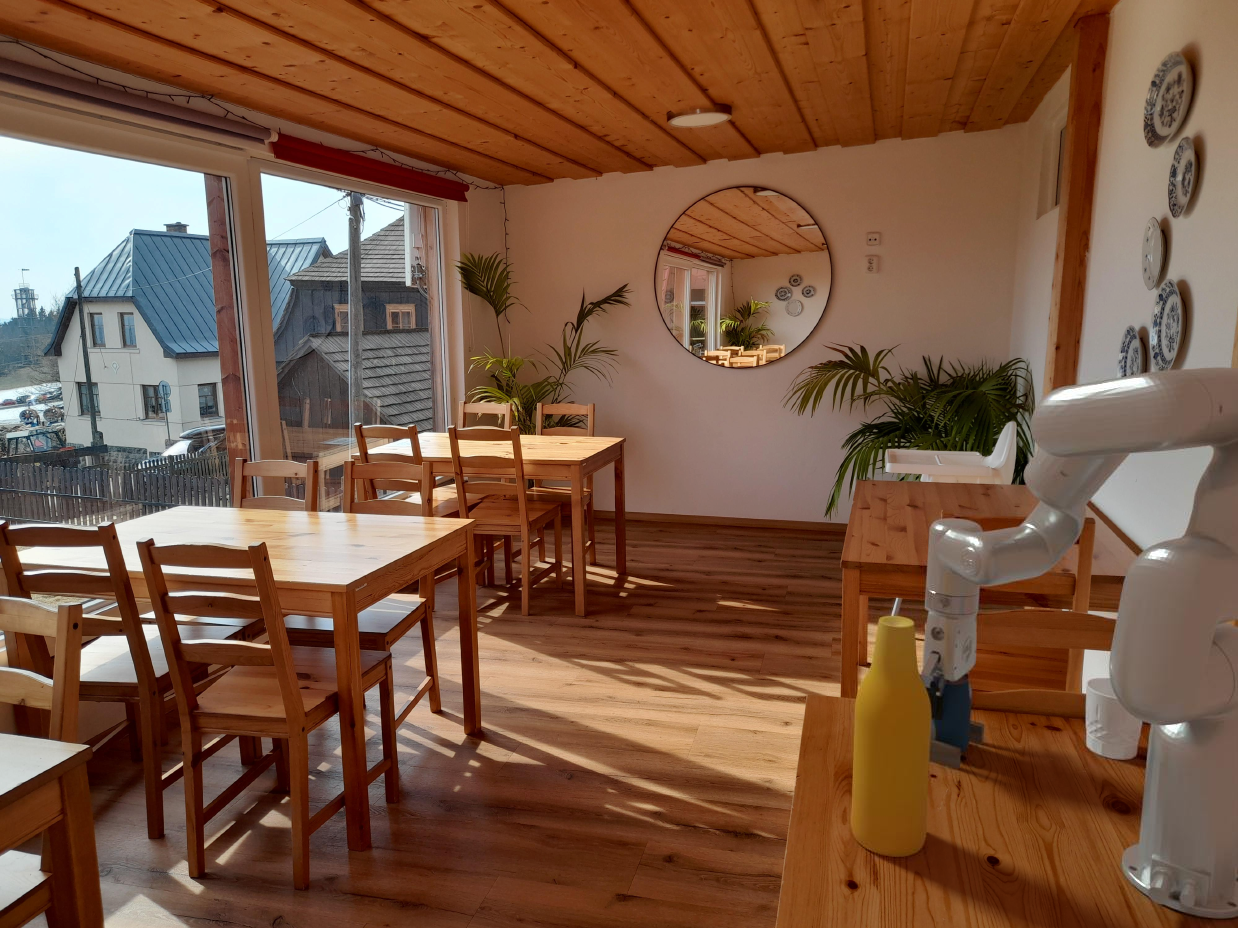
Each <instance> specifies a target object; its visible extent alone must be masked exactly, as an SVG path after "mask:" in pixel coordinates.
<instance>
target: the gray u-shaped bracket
mask: <svg viewBox="0 0 1238 928" xmlns="http://www.w3.org/2000/svg"><path fill="white" fill-rule="evenodd" d="M984 739H985V724H984V723H982V722H981V723H980V722H977V721H973V720H971V719H970V736H969V742H971V743H975V744H977V745H980V746H981V745H982V744H983V743H984ZM960 753H961V748H958V747H955V746H952V745H949V744H946V743H943V742H939V741H936V740H933V739H930V753H929V762H930V761H931V762H933V763H936V764H939V765H942V766H945V767H948V768H951V769H953V770H958V769H960V767H961V755H960Z"/></svg>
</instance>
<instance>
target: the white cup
mask: <svg viewBox="0 0 1238 928" xmlns="http://www.w3.org/2000/svg"><path fill="white" fill-rule="evenodd" d="M1085 685H1086V688H1085V689H1086V691H1085V692H1086V693H1085V729H1086V730H1085V731H1086V735H1085V736H1086V737H1085V743H1086V747H1087V748H1088V749H1089V750H1090V751H1091V752H1093V753H1094V754H1096V755H1099V756H1102V757H1105V758H1108V759H1113V760H1119V761H1120V760H1122V761H1123V760H1125V761H1126V760H1131V759H1134V758H1136V756H1137V753H1138V745H1139V739H1140V736H1141V733H1142V732H1141V731H1142V727H1143V721H1141V720H1139V719H1137V718H1136V717H1134V716H1133V715H1131V714H1130V713H1129V712H1128V711H1127V710H1126V709H1125V708H1124V707H1123V706H1122V705H1121V704H1120V702H1119V701H1118V699H1117V697H1116V695H1115V693H1114V691H1113V688H1112V685H1111V681H1110V677H1096V678H1091V679H1089V680H1088V681H1086V684H1085Z"/></svg>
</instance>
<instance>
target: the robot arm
mask: <svg viewBox="0 0 1238 928" xmlns="http://www.w3.org/2000/svg"><path fill="white" fill-rule="evenodd" d="M1030 429H1031V430H1030V431H1031V434H1032V438H1033V441H1034V442H1035V444H1036V445H1037V446H1038V447H1039V449H1038V451H1037V452H1036V453H1035V455H1034V456H1033V457H1032V459H1030V461H1029V462H1028V463H1027V464H1026V466H1025V468H1024V471H1023V479H1024V483H1025V485H1026V487H1027V488H1028V490H1029V491H1030V492H1031V493H1032V494H1033V496H1035V497H1036V498H1037V499H1038V500H1039V502H1038V504H1037V505H1036V506H1035V507H1034V510H1032V512H1031V513H1030V514H1029V515H1028V516H1027V517H1026V519H1025V520H1024V521H1023V522H1022V523H1021V524H1020V525H1019V526H1014V527H1007V528H1002V529H995V530H988V531H987V530H986V531H984V530H983V529H982V527H981V525H980V524H979V523H978V522H975V521H973V520H969V519H965V518H956V517H955V518H954V517H950V518H949V517H948V518H940V519H936V520H934V521H933V522H932V523H931V524H930V527H929V533H928V534H929V535H928V549H927V567H926V580H925V581H926V583H925V585H926V586H925V598H924V609H925V610H926V611H928V614H927V619H926V626H925V633H924V639H923V640H924V641H923V653H922V669H921V673H920V677H921V679H922V681H923V683H924V686H925V688H926V690H927V693H928V696H929V699H930V704H931V718H933V719H937V720H942V719H943V717H944V702H945V695H943V694H942V693H943V690H944V687H945V684H946V681H947V679H948V680H949V681H950V682H955V681H956V680H958V679H959V678H961V677H962V676H963V675H964V674H965V673H966V674H967V675H968V680H969V681H970V679H969V678H970V674H969V673H970V671H971V670H972V669H973V668H974V666H975V664H976V661H977V635H978V633H977V631H978V630H977V627H978V626H977V615H978V613H979V603H980V600H979V599H980V588H981V587H993V586H999V585H1005V584H1008V583H1013V582H1017V581H1023V580H1028V579H1029V580H1030V579H1034V578H1037V577H1040V576H1041V575H1044V574H1045V573H1047V572H1049V571H1050V570H1051V569H1052V568H1053V567H1054V566H1055V565H1056V564H1058V562H1059V561H1061V559H1062V558H1063V557H1064V556H1065V555H1066V554H1067V553H1068V551H1069V550H1070V549H1071V548H1072V547H1073V546H1074V544H1076V542H1077V541H1078V540H1079V538H1080V535H1081V534H1082V532H1083V529H1084V525H1085V520H1086V516H1087V510H1086V507H1087V504H1088V503H1089V502H1090V500H1092V498H1093V497H1094V496H1095V494H1096V493H1097V492H1098V491H1099V490H1100V489H1101V487H1102V486H1103V485H1104V484H1105V483H1106V482H1107V481H1108V479H1110V477H1111V476H1112V475H1113V474H1114V473H1115V472H1116V470H1117V469H1118V468H1119V467H1120V466H1121V464H1123V463H1124V461H1125V460H1126V459H1127V458H1128V457H1129V456H1130V454H1139V453H1153V452H1155V453H1156V452H1166V451H1169V452H1170V451H1175V450H1177V451H1178V450H1184V449H1192V448H1193V449H1194V448H1201V447H1209V446H1210V447H1211V448H1212V449H1213V454H1212V457H1211V460H1210V462H1209V463H1208V465H1207V466H1206V468H1205V470H1204V472H1203V473H1202V475H1201V478H1200V479H1199V481H1198V484H1197V486H1196V489H1195V493H1194V498H1193V504H1192V510H1191V514H1190V517H1189V521H1188V524H1187V527H1186V529H1185V532H1184V534H1183V535H1182V536H1181V537H1178V538H1174V539H1169V540H1165V541H1161V542H1157V543H1156V544H1153V545H1151V546H1150V547H1147V548H1146V549H1145V550H1143V551H1142V552H1141V553H1139V554H1138V556H1137V557H1136V558H1135V559H1134V560H1133V562H1132V563H1131V565H1130V567H1129V568H1128V570H1127V573H1126V575H1125V578H1124V580H1123V584H1122V585H1123V586H1122V590H1121V594H1120V601H1119V605H1118V611H1117V614H1116V615H1117V616H1116V622H1115V627H1114V631H1113V636H1112V642H1111V648H1110V654H1109V663H1108V668H1109V669H1108V670H1109V671H1108V673H1109V675H1108V676H1109V678H1110V681H1111V685H1112V688H1113V691H1114V693H1115V695H1116V697H1117V699H1118V701H1119V702H1120V704H1121V705H1122V706H1123V707H1124V708H1125V709H1126V710H1127V711H1128V712H1129V713H1130V714H1131V715H1133V716H1134V717H1136V718H1137V719H1139V720H1141V721H1142V722H1143V723H1147V724H1150V730H1149V736H1148V746H1147V754H1146V764H1145V766H1146V767H1145V775H1144V776H1145V777H1144V787H1143V798H1142V809H1141V819H1140V830H1139V840H1138V843H1135V844H1133V845H1131V846H1129V847H1127V848H1126V849H1125V851H1124V852H1123V854H1122V856H1121V857H1122V859H1121V868H1122V871H1123V873H1124V876H1125V877H1126V878H1127V879H1128V881H1129V882H1130V883H1131V884H1132V885H1133V886H1134V887H1135V888H1137V889H1138V890H1139V891H1141V893H1142V894H1145V895H1146V896H1147V897H1149V899H1150V900H1151V901H1152V902H1153V903H1155V904H1158V905H1164V906H1166V907H1168V908H1171V909H1174V910H1176V911H1179V912H1182V913H1185V914H1188V915H1192V916H1195V917H1202V918H1207V919H1208V918H1209V919H1233V918H1236V917H1238V626H1236V625H1234V624H1232V623H1230V622H1233V621H1237V620H1238V368H1235V367H1199V368H1189V369H1188V368H1186V369H1168V370H1156V371H1149V372H1148V371H1147V372H1143V373H1142V372H1141V373H1137V374H1133V375H1126V376H1121V377H1116V378H1115V377H1114V378H1110V379H1104V380H1099V381H1092V382H1087V383H1080V384H1079V383H1078V384H1073V385H1066V386H1062V387H1061V386H1060V387H1058V388H1056V389H1053V390H1052V391H1050V392H1048V393H1047V394H1046V395H1044V396H1043V398H1041V400H1039V402H1038V403H1037V405H1036V406H1035V409H1034V411H1033V412H1032V415H1031V419H1030ZM935 670H936V671H940V672H942V673H943V674H939V673H935ZM934 678H935V679H939V680H940V682H939V685H938V686H937V684H936V682H935V681H933V679H934Z"/></svg>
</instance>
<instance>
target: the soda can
mask: <svg viewBox="0 0 1238 928" xmlns="http://www.w3.org/2000/svg"><path fill="white" fill-rule="evenodd" d="M935 673H939V674H943V673H942V672H940V671H936V670H935ZM967 674H968V673H965V674H964V675H963V676H962V677H961V678H959V679H958V680H956V681H955V682H950V681H949V680H948V679H947V681H946V684H945V687H944V690H943V693H942V694H943V695H945V702H944V717H943V719H942V720H937V719H933V718H931V733H930V739H933V740H936V741H939V742H943V743H946V744H949V745H952V746H955V747H958V748H961V753H960V756H961V755H962V754H963V753H964V752H965V751H966V749H967V748H968V747H969V745H970V741H969V736H970V720H971V716H972V715H971V714H972V713H971V712H972V698H973V696H972V695H973V687H972V685H971V683H970V679H969V680H968V675H967ZM933 681H935V682H936V684H937V686H938V685H939V682H940V680H939V679H935V678H934V679H933Z"/></svg>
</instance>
